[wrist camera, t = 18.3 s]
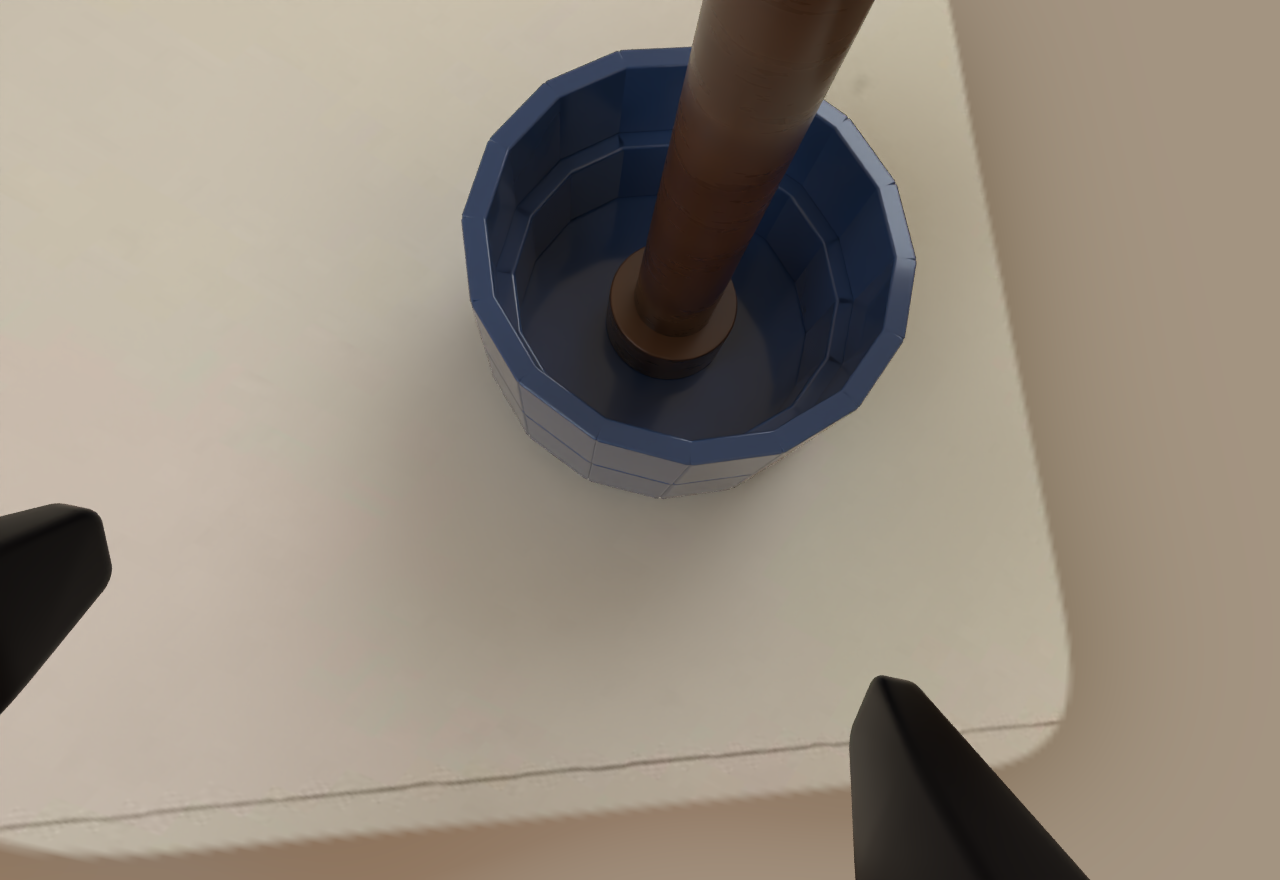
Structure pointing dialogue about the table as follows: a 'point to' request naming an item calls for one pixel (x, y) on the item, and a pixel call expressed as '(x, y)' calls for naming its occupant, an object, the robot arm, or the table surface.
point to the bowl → (619, 225)
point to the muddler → (724, 171)
